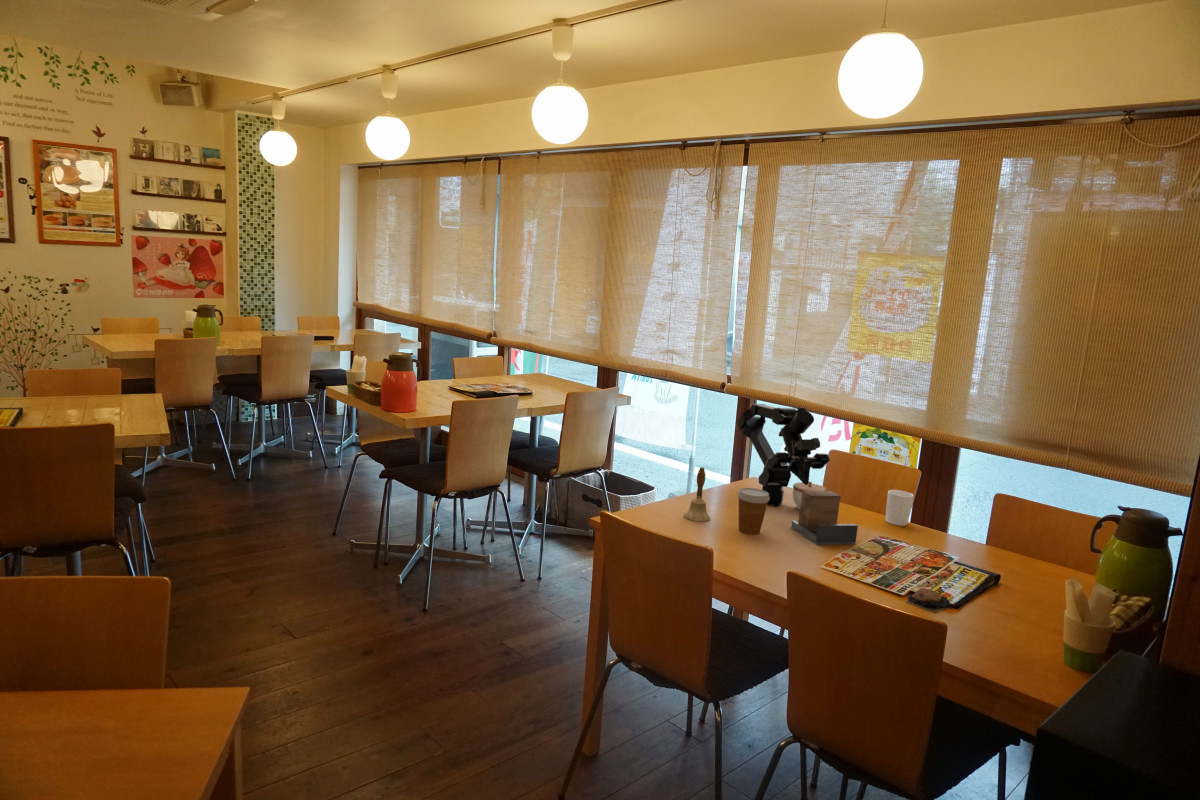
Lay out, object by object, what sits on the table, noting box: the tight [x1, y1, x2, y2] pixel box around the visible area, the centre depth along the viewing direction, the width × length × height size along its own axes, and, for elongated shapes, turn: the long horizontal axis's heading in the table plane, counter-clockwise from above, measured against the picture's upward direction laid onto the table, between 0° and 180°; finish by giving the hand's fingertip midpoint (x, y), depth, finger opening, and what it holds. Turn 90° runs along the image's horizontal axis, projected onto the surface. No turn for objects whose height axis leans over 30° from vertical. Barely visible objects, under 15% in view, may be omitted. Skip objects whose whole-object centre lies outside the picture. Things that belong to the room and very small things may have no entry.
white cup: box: [885, 489, 914, 527], centre depth 249 cm, size 8×8×10 cm
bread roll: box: [905, 588, 951, 614], centre depth 185 cm, size 11×8×4 cm
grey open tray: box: [790, 520, 859, 546], centre depth 229 cm, size 15×13×6 cm
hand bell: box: [682, 467, 711, 523], centre depth 235 cm, size 8×8×16 cm
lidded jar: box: [792, 481, 827, 510], centre depth 255 cm, size 11×11×9 cm
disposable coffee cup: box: [737, 487, 770, 535], centre depth 227 cm, size 10×10×12 cm
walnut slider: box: [797, 490, 841, 531], centre depth 231 cm, size 5×10×11 cm, turn 106°
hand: (806, 484), depth 239 cm, fingers closed
